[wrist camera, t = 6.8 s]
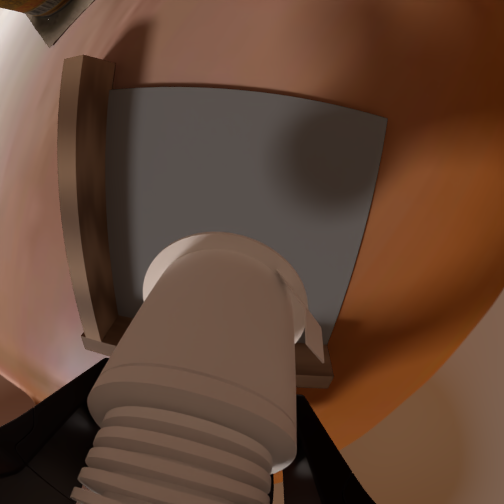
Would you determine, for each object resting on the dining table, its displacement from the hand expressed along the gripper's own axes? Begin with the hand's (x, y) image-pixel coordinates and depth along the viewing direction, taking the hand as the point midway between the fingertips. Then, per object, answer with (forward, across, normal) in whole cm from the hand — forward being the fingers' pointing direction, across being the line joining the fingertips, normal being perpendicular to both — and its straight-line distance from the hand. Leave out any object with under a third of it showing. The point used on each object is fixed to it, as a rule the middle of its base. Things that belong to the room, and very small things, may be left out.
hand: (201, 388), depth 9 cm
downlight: (+4, 0, 0) cm, 4 cm away
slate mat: (+12, +1, -1) cm, 12 cm away
